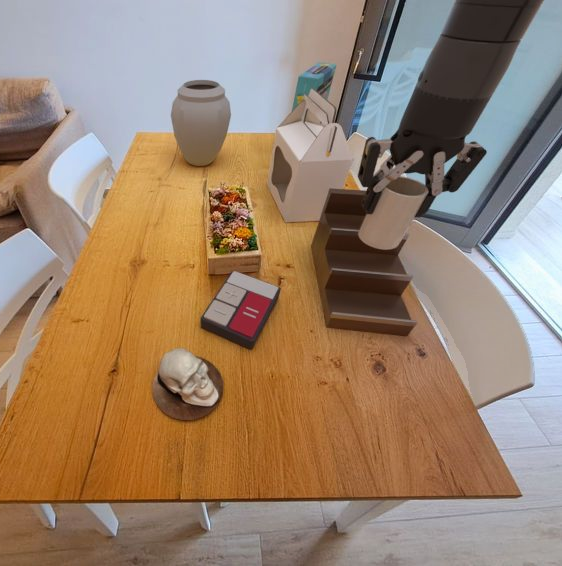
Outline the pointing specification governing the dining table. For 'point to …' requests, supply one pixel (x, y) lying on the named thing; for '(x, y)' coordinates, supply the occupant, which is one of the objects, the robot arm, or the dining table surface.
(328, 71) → the game box
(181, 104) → the vase
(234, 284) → the calculator
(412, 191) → the cup
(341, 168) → the gable box
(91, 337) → the dining table surface
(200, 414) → the skull
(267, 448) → the dining table surface
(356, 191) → the shelf rack
